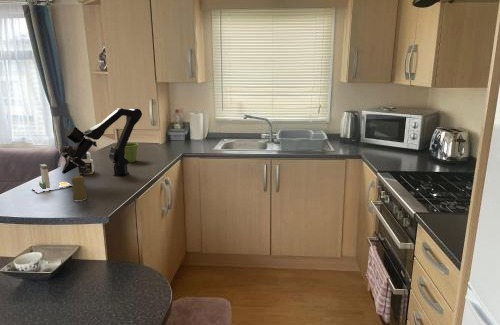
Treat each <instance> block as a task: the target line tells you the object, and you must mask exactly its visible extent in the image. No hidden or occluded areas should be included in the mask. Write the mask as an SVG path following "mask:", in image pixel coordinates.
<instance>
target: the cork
mask: <svg viewBox="0 0 500 325" xmlns="http://www.w3.org/2000/svg"><path fill="white" fill-rule="evenodd" d="M71 183H72V189H73V190H72V191H73V192H72V194H73V195H72V201H73V200H83V199H86V198H88V195H87V191H86V188H85V185H84V183H85V178H84V176H82V175H75V176H73V177H72V178H71Z"/></svg>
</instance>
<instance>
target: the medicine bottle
mask: <svg viewBox="0 0 500 325" xmlns="http://www.w3.org/2000/svg"><path fill="white" fill-rule="evenodd" d="M81 160H82V161H84V162H85V164H86V165H85V166H84V168H83V167H81V166H80V165H77V166H79V167H77V169H78V176H81V175H80V174H84V175H92V174H94V171H95V166H94V160H93V159H92V156H91V152H89V151H88V152H87V155H84V157H83V158H82V159H81Z"/></svg>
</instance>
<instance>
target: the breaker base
mask: <svg viewBox="0 0 500 325" xmlns="http://www.w3.org/2000/svg"><path fill="white" fill-rule="evenodd" d="M58 183H59V184H60V185H59V187H58V188H63V187H69V186H72V187H73V184H71V183H69V182H67V181H62V182H58ZM38 186H40V187H41V188H42V189H46V187H45V183H44V182H42V180H40V181H38ZM69 188H70V187H69Z"/></svg>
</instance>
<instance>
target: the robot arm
mask: <svg viewBox="0 0 500 325" xmlns="http://www.w3.org/2000/svg"><path fill="white" fill-rule="evenodd" d="M123 116H124V117H126V118H125V119H126V122H125V125H124V127H123V130H122V131H121V134H120V136H119V138H118V141H117V144H116V145H115V146H111V148H110V150H109V152H108V158H109V160H110V161H111V162H112V163H113V176H114V177H115V176H117V177H125V176H127V175H129V174H130V172H129V170H128V164H129V162H128V160H127V159H125V158H124V156H125V147H126V144H127V143H129V142H128V141H129V139H130V137H131V134H132V131H133V130H134V128H135V125H137V123H138V122H140V120H141V118H142V116H143V112H142V111H141V109H139V108H135V107H133V108H129V109H126V108H121V107H118V108H116V109H115V110H114V111H113V112H111V113H110V114H109V115H108V116H107V117H105V118H104V119H103V120H102V121H101V122H100V123H97V124H95V125H93V126H91V127H90V128H87V130H85V131H81V130H80V129H79V128H78V127H76V126H73V127H72V128H70V129H69V130H67V131H66V133H65V135H64V136H65V138H66V139H68V140H69V141H71V142H73V143H74V144H77V145H76V146H71V145H67V146H65V145H61V147H60V150H59V152H61V153H62V154H61V156H62V157H63V158H64V162H65V164H64V165H63V169H62V172H61V173H62V174H63V175H64V174H66V173H69V172H70V171H72V170H75V169H77V168H78V167H79V166H78V165H80V166H81V167H83V168H84V166H85V165H86V164H85V162H84V161H82V160H81V159H82V158H83V157H84V155H87V152H89V150H90V149H91V148H92V146H93V147H96V148H97V147H98V144H97V140H98V141H99V140H100V139H101V138H102V137H103V136H104V134H105V132H106V131H107V129H108V128H110V127H111V126H112V125H113V124H115V122H116V121H118V120H119V119H120V118H121V117H123Z"/></svg>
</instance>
